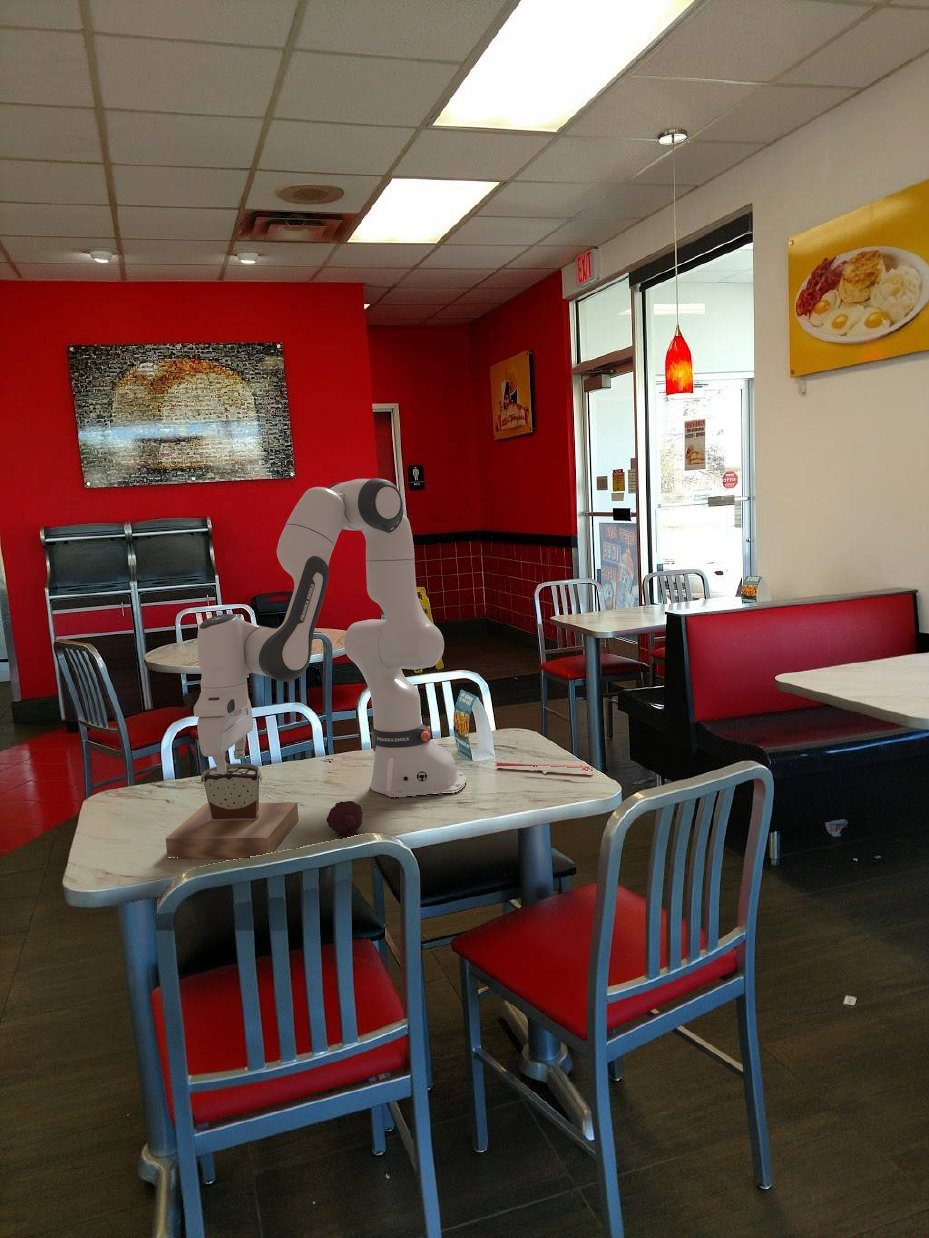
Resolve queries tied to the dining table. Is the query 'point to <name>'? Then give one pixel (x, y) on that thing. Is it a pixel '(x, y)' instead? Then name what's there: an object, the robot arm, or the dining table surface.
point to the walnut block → (232, 833)
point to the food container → (233, 792)
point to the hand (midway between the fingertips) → (231, 765)
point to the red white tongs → (540, 765)
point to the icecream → (345, 818)
